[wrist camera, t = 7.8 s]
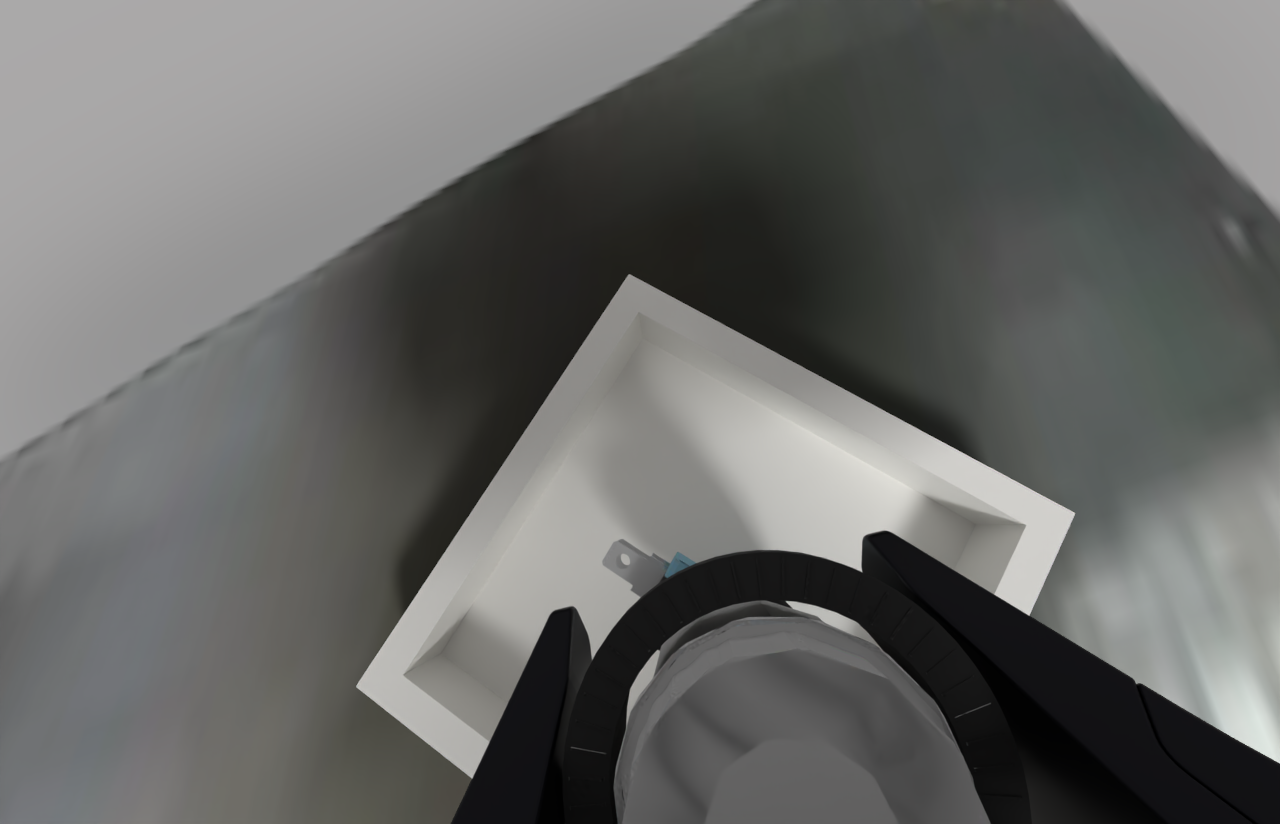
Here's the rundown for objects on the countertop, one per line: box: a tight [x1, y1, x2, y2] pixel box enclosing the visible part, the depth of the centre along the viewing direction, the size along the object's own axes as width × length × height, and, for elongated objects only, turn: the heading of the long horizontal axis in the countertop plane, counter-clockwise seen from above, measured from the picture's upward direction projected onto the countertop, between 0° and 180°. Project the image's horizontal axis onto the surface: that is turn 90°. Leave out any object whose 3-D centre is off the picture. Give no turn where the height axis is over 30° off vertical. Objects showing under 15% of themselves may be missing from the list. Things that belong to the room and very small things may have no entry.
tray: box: [356, 274, 1075, 778], centre depth 16 cm, size 15×15×3 cm
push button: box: [563, 539, 1032, 824], centre depth 10 cm, size 7×5×10 cm
